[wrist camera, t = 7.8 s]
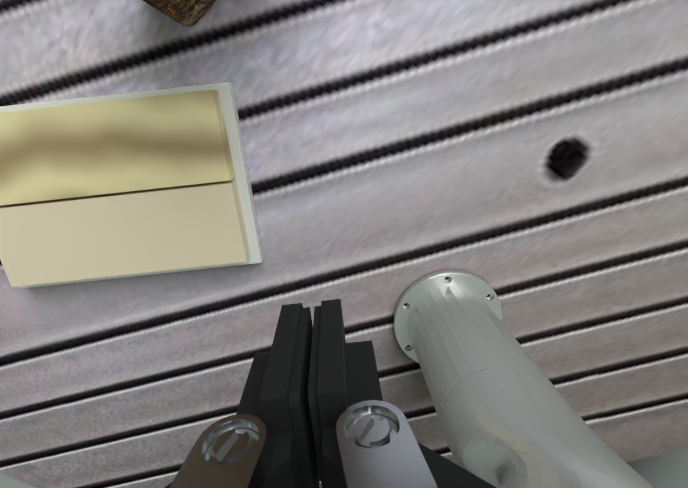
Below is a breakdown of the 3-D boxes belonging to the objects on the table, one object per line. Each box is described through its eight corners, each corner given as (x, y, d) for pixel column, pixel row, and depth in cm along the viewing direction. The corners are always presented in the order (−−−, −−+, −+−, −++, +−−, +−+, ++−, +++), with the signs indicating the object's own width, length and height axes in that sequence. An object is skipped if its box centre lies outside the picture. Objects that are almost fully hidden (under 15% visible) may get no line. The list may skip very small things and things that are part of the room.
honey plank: (235, 176, 39) (230, 180, 37) (-5, 202, 39) (-22, 207, 37) (218, 90, 36) (212, 89, 34) (-41, 118, 36) (-61, 119, 34)
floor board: (263, 257, 43) (258, 269, 40) (30, 283, 43) (5, 297, 40) (232, 82, 38) (222, 80, 34) (-37, 112, 38) (-73, 112, 34)
